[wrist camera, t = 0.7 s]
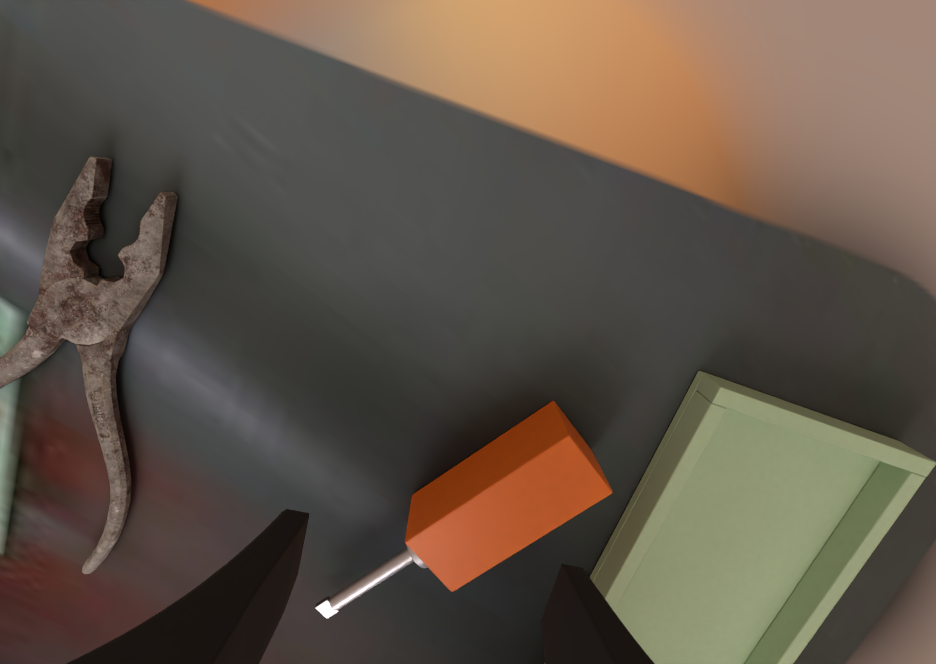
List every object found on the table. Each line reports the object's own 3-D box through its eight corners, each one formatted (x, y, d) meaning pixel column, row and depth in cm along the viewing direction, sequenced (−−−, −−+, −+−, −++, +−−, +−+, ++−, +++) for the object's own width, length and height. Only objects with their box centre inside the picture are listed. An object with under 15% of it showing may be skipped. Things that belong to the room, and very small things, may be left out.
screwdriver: (553, 399, 23) (569, 435, 19) (592, 450, 23) (614, 493, 20) (308, 563, 25) (286, 619, 22) (351, 604, 26) (335, 665, 23)
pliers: (-101, 535, 23) (-100, 94, 18) (-82, 523, 24) (-75, 99, 18) (110, 584, 24) (171, 182, 19) (122, 570, 25) (183, 182, 19)
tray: (709, 718, 29) (728, 756, 27) (538, 674, 27) (544, 710, 26) (898, 440, 24) (937, 462, 22) (698, 369, 22) (721, 386, 20)
